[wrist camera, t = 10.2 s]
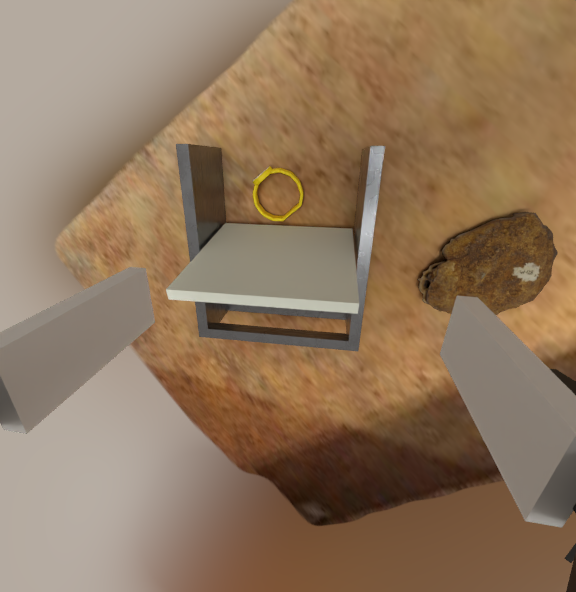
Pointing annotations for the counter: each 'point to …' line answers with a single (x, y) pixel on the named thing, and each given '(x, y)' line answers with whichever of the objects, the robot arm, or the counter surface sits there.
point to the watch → (261, 178)
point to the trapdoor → (273, 269)
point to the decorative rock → (493, 265)
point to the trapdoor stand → (211, 217)
